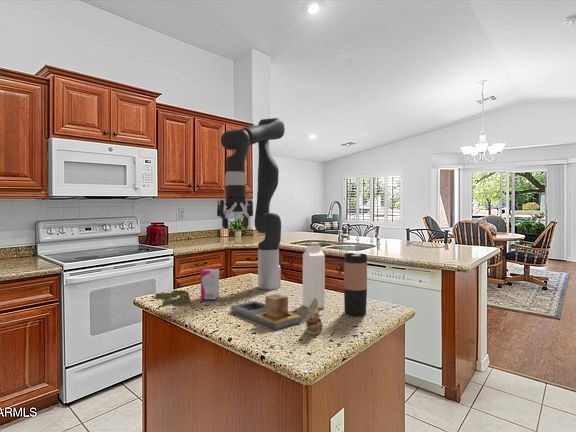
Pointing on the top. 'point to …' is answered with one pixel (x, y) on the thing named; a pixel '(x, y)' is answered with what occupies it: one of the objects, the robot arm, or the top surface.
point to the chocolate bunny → (313, 319)
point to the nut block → (276, 306)
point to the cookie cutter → (181, 300)
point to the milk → (313, 276)
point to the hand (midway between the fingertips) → (235, 228)
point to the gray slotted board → (260, 316)
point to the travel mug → (355, 284)
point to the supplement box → (210, 284)
